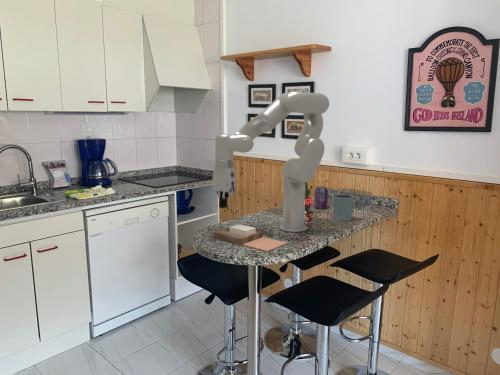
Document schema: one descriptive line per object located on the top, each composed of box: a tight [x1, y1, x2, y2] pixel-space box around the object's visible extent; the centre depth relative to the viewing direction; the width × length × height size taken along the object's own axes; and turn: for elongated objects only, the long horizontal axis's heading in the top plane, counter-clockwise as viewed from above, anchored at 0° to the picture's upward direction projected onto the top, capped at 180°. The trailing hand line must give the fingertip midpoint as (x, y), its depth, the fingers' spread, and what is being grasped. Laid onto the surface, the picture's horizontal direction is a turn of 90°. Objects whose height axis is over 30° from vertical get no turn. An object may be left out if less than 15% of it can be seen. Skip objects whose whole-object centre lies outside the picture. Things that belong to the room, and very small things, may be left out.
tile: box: [229, 223, 257, 237], centre depth 160 cm, size 6×9×2 cm, turn 50°
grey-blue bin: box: [332, 193, 355, 222], centre depth 193 cm, size 10×10×12 cm
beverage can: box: [313, 185, 329, 210], centre depth 217 cm, size 7×7×12 cm
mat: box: [242, 236, 288, 253], centre depth 154 cm, size 13×12×1 cm
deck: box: [212, 226, 264, 246], centre depth 162 cm, size 14×15×2 cm
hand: (223, 207), depth 165 cm, fingers closed
